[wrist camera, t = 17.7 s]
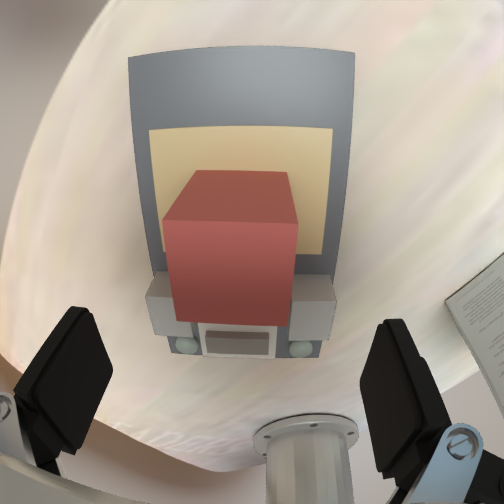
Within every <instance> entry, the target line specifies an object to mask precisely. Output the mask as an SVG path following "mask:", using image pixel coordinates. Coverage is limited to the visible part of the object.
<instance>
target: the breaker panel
mask: <svg viewBox="0 0 504 504" xmlns="http://www.w3.org/2000/svg"><path fill="white" fill-rule="evenodd" d="M128 71H129V92H130V108H131V121H132V132H133V143H134V153H135V162H136V170H137V178H138V186H139V193H140V200H141V207H142V214H143V220H144V226H145V232H146V238H147V244H148V249H149V255H150V260H151V265H152V270H153V275H154V279H153V281H152V283H151V285H150V287H149V289H148V291H147V293H146V295H145V298H146V302H147V306H148V310H149V314H150V318H151V322H152V325H153V329H154V333H155V335H164V336H167V337H168V341H169V345H170V349H171V353H178V354H191V355H203V353H202V347H201V341H200V335H199V328H198V323H195V322H181V321H176V315H175V310H174V304H173V298H172V291H171V285H170V278H169V272H168V265H167V258H166V250H165V243H164V235H163V226H162V219H163V218H164V216H165V215H166V213H167V212H168V210H169V209H170V207H171V206H172V204H173V203H174V201H175V200H176V198H177V197H178V196H179V194H180V193H181V191H182V190H183V188H184V187H185V185H186V184H187V183H188V181H189V180H190V178H191V177H192V176H193V174H194V173H195V171H196V170H243V171H275V172H287V175H288V179H289V184H290V188H291V192H292V197H293V201H294V206H295V210H296V215H297V219H298V224H299V225H298V235H297V246H296V255H295V265H294V274H293V284H292V292H291V301H290V310H289V318H288V326H277V338H276V352H275V358H318V357H319V352H320V348H321V343H322V340H329V336H330V332H331V327H332V322H333V318H334V313H335V308H336V303H337V300H336V296H335V293H334V289H333V279H334V273H335V267H336V261H337V255H338V248H339V241H340V234H341V227H342V219H343V211H344V203H345V195H346V186H347V176H348V166H349V155H350V143H351V130H352V115H353V97H354V72H355V53H353V52H346V51H337V50H328V49H317V48H304V47H286V46H226V47H208V48H195V49H184V50H175V51H167V52H159V53H152V54H146V55H140V56H134V57H128Z"/></svg>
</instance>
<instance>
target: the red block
mask: <svg viewBox="0 0 504 504" xmlns="http://www.w3.org/2000/svg"><path fill="white" fill-rule="evenodd" d="M298 225H299V224H298V219H297V215H296V210H295V206H294V201H293V197H292V192H291V188H290V184H289V179H288V175H287V172H275V171H243V170H196V171H195V173H194V174H193V176H192V177H191V178H190V180H189V181H188V183H187V184H186V185H185V187H184V188H183V190H182V191H181V193H180V194H179V196H178V197H177V198H176V200H175V201H174V203H173V204H172V206H171V207H170V209H169V210H168V212H167V213H166V215H165V216H164V218H163V219H162V226H163V235H164V243H165V250H166V258H167V265H168V272H169V278H170V285H171V291H172V298H173V304H174V310H175V315H176V321H181V322H195V323H211V324H229V325H252V326H288V318H289V310H290V301H291V292H292V284H293V274H294V265H295V255H296V246H297V235H298Z"/></svg>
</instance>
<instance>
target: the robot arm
mask: <svg viewBox="0 0 504 504" xmlns="http://www.w3.org/2000/svg"><path fill="white" fill-rule="evenodd" d="M112 373H113V367H112V364H111V361H110V359H109V357H108V354H107V352H106V349H105V347H104V344H103V341H102V339H101V336H100V333H99V331H98V328H97V325H96V322H95V320H94V317H93V314H92V313H90V312H89V310H88V309H87V308H84V307H75V306H72V307H70V308H69V309H68V310H67V312H66V313H65V314H64V316H63V317H62V319H61V320H60V321H59V323H58V324H57V325H56V327H55V328H54V330H53V331H52V332H51V334H50V335H49V337H48V338H47V339H46V341H45V342H44V344H43V345H42V347H41V348H40V350H39V351H38V353H37V354H36V356H35V357H34V358H33V360H32V362H31V363H30V365H29V366H28V368H27V369H26V371H25V372H24V374H23V376H22V377H21V379H20V380H19V382H18V383H17V385H16V387H15V388H14V390H13V391H14V392H15V395H14V397H13V396H12V395H11V394H9V393H7V392H0V504H149V503H145V502H140V501H136V500H132V499H128V498H124V497H120V496H117V495H113V494H110V493H106V492H103V491H100V490H97V489H93V488H91V487H87V486H85V485H81V484H79V483H76V482H73V481H71V480H68V479H67V476H66V474H65V471H64V468H63V466H62V463H61V460H60V457H59V454H60V452H61V450H62V451H63V452H66V453H69V454H72V455H75V453H76V451H77V449H80V448H81V446H82V444H83V442H84V440H85V437H86V434H87V432H88V430H89V427H90V425H91V422H92V420H93V418H94V415H95V413H96V411H97V408H98V406H99V404H100V401H101V399H102V397H103V394H104V392H105V390H106V388H107V385H108V383H109V381H110V379H111V377H112ZM360 391H361V395H362V399H363V404H364V408H365V413H366V418H367V422H368V427H369V432H370V436H371V441H372V446H373V452H374V457H375V463H376V468H377V471H378V472H382V475H383V479H388V478H393V477H394V478H395V483H396V486H397V487H396V489H395V490H394V492H393V494H392V495H391V497H390V499H389V500H388V501H387V503H386V504H504V459H501V458H499V457H497V456H496V455H494V454H491V453H489V452H488V451H486V450H484V449H483V439H482V437H481V435H480V433H479V432H478V431H477V430H476V429H475V428H474V427H472V426H471V425H467V424H464V423H457V424H454V425H452V423H451V420H450V418H449V415H448V413H447V410H446V408H445V405H444V403H443V400H442V397H441V395H440V393H439V390H438V388H437V385H436V383H435V381H434V378H433V376H432V374H431V371H430V369H429V367H428V364H427V362H426V361H425V359H424V358H423V357H420V355H419V352H418V350H417V348H416V346H415V343H414V341H413V339H412V337H411V335H410V333H409V331H408V329H407V326H406V324H405V322H404V321H403V319H385V320H384V321H383V324H379V325H378V327H377V330H376V333H375V336H374V340H373V343H372V346H371V349H370V352H369V355H368V358H367V361H366V364H365V367H364V369H363V372H362V375H361V378H360ZM358 437H359V433H358V428H357V426H356V424H355V423H354V422H352V421H350V420H349V419H346V418H343V417H339V416H333V415H305V416H297V417H291V418H287V419H283V420H279V421H277V422H274V423H271V424H269V425H267V426H265V427H263V428H262V429H261V430H260V431H258V432H257V434H256V435H255V437H254V449H255V451H256V452H257V453H258V454H260V455H261V456H263V457H265V458H267V463H266V465H267V466H266V468H267V469H266V504H354V497H353V488H352V479H351V471H350V463H349V456H348V449H350V448H351V447H352V446H353V445H354V444H355V443H356V442H357V440H358Z"/></svg>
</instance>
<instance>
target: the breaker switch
mask: <svg viewBox="0 0 504 504" xmlns="http://www.w3.org/2000/svg"><path fill="white" fill-rule="evenodd" d="M198 328H199V335H200V341H201V347H202V353H203V356H205V357H224V358H251V359H275V352H276V338H277V326H252V325H229V324H211V323H198Z"/></svg>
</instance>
